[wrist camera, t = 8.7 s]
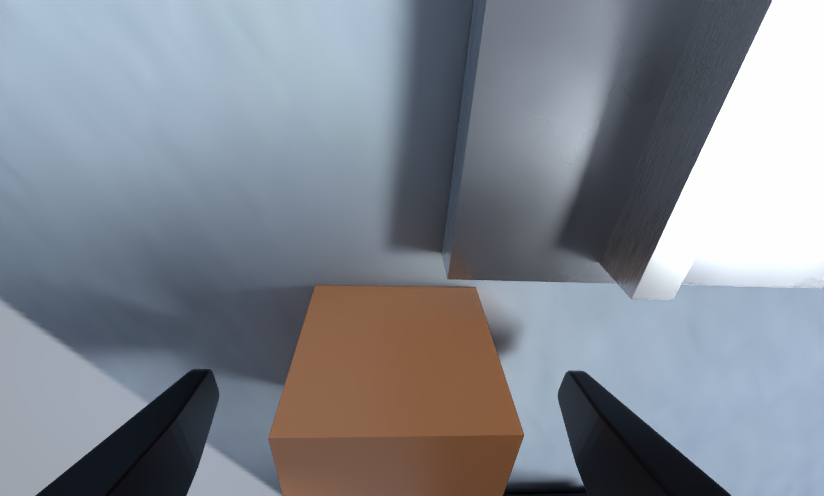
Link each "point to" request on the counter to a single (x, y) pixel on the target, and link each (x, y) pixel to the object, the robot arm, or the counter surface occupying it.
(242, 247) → the counter surface
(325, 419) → the orange cube
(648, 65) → the panel
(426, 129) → the counter surface
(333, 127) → the counter surface
